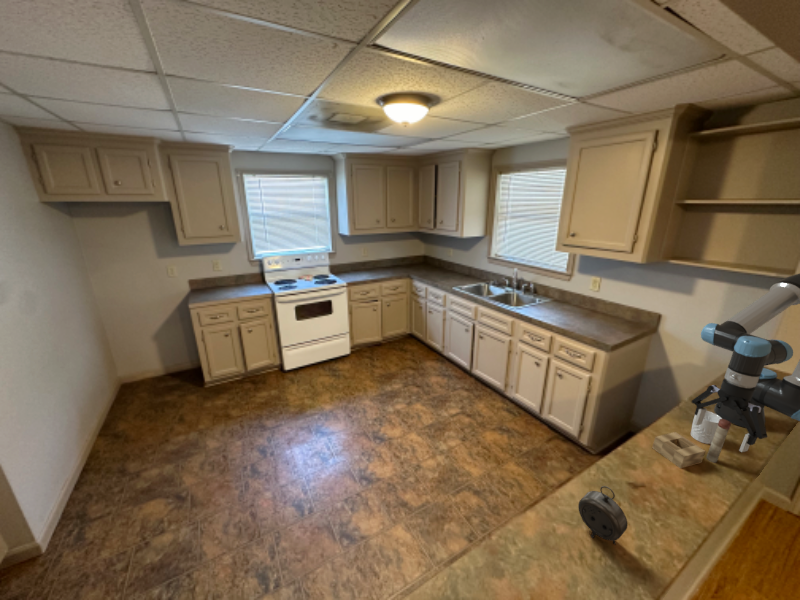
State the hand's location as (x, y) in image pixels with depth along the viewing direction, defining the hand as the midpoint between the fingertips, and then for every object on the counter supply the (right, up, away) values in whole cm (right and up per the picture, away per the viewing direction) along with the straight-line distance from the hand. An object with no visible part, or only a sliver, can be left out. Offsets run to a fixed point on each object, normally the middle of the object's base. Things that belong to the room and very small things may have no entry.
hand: (719, 436), depth 115 cm
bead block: (-11, -9, +5) cm, 15 cm away
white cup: (+6, -6, +14) cm, 16 cm away
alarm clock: (-56, -17, -23) cm, 63 cm away
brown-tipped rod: (0, -9, +3) cm, 10 cm away
